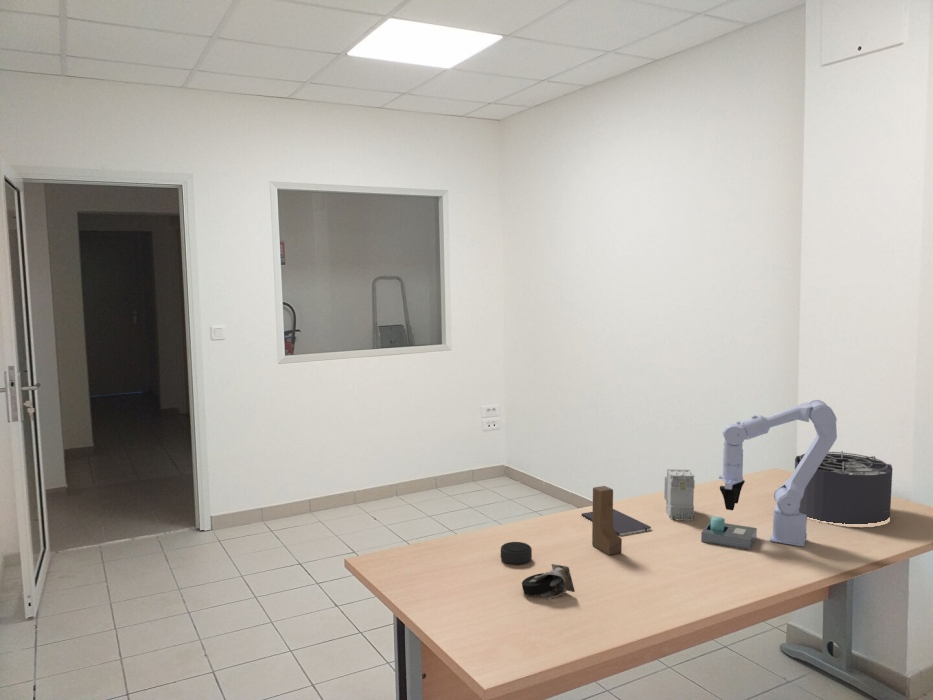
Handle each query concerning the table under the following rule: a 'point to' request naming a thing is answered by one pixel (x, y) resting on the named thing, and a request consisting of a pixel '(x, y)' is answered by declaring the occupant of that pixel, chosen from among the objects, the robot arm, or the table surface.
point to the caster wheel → (549, 582)
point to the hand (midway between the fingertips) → (731, 506)
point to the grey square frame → (730, 536)
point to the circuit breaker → (679, 494)
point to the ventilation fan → (848, 490)
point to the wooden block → (604, 522)
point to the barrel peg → (717, 524)
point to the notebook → (623, 523)
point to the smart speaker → (516, 553)
